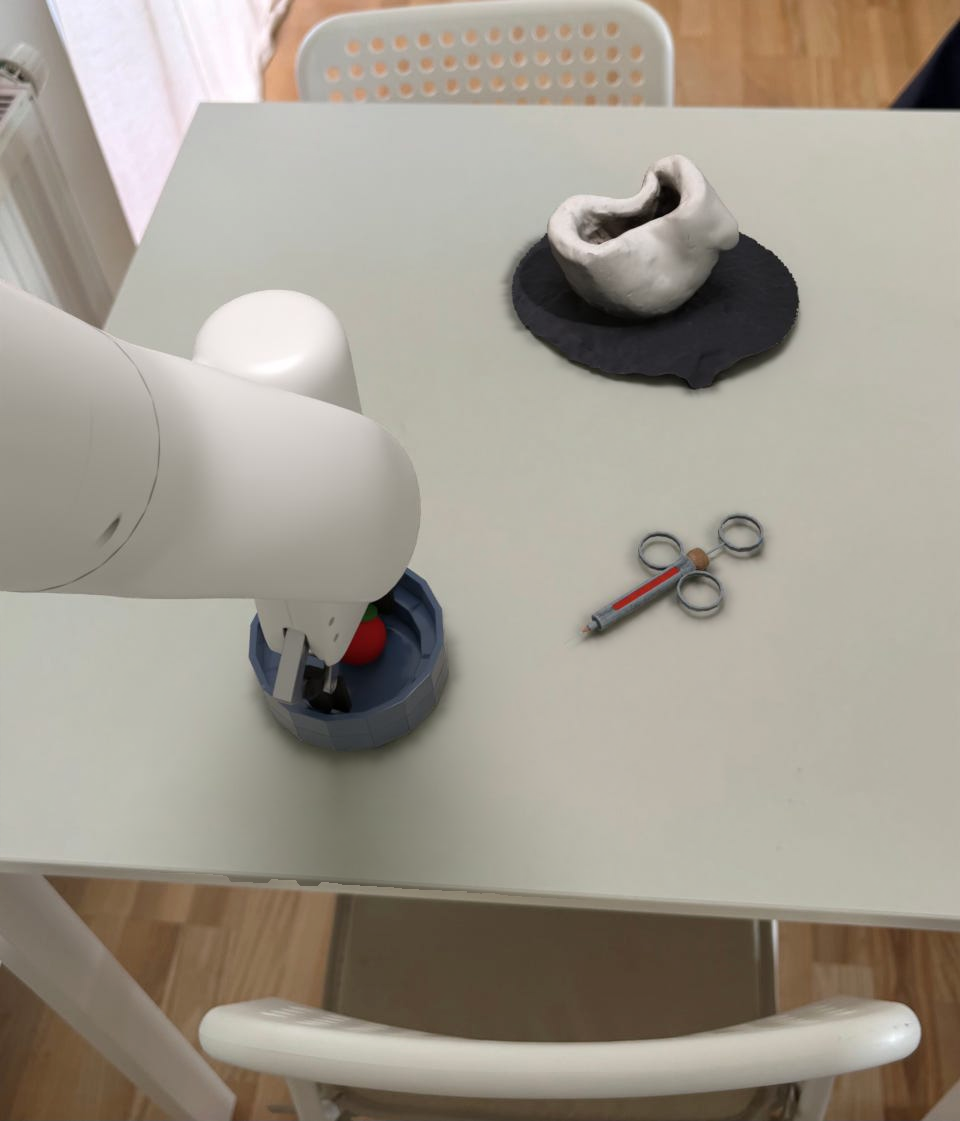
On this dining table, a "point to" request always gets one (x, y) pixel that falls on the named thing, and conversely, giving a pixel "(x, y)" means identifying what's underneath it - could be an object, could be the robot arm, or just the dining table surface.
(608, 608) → the syringe
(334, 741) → the bowl
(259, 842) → the dining table surface
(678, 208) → the sculpture
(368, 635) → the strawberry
